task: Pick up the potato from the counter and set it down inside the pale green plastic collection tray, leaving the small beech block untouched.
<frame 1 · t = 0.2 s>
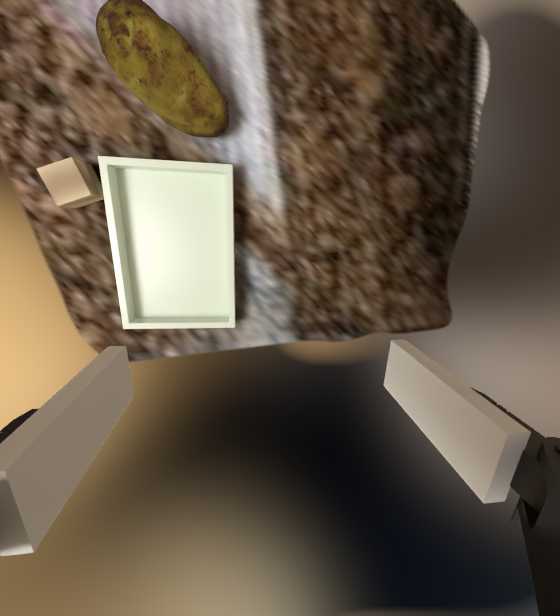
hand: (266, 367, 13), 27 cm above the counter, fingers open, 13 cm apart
tray: (179, 249, 37), on the counter
potato: (177, 97, 32), on the counter
beech block: (84, 186, 34), on the counter
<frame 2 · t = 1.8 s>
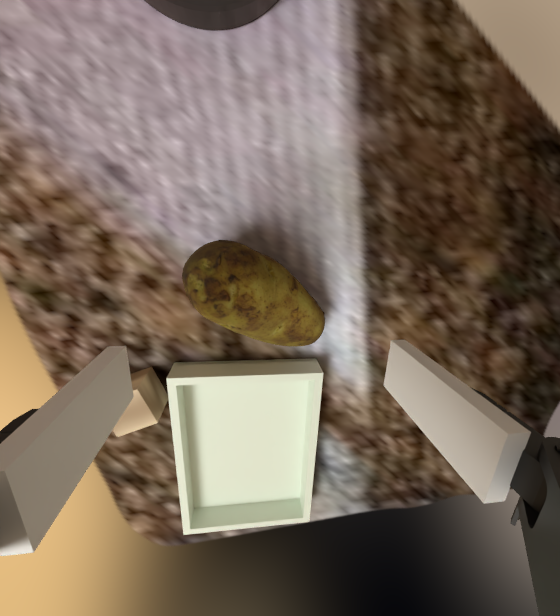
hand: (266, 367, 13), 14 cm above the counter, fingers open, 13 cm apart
tray: (247, 438, 32), on the counter
potato: (257, 291, 27), on the counter
beech block: (142, 387, 28), on the counter
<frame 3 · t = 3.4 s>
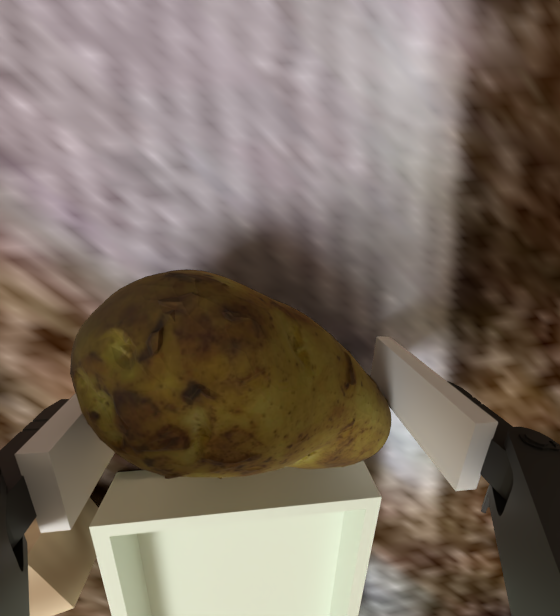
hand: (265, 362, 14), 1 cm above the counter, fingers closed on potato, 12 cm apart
tray: (246, 572, 20), on the counter
potato: (260, 350, 15), on the counter, touching gripper
beech block: (63, 512, 16), on the counter
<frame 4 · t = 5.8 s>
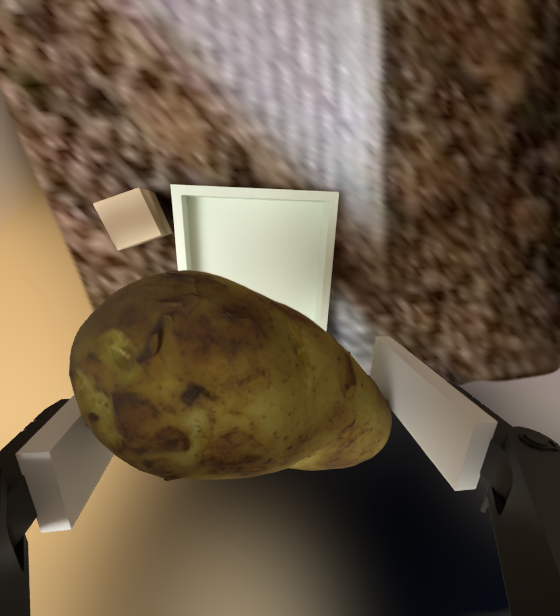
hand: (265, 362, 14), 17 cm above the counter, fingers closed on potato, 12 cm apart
tray: (256, 293, 30), on the counter
potato: (260, 351, 15), point 16 cm above the counter, touching gripper
beech block: (144, 219, 26), on the counter
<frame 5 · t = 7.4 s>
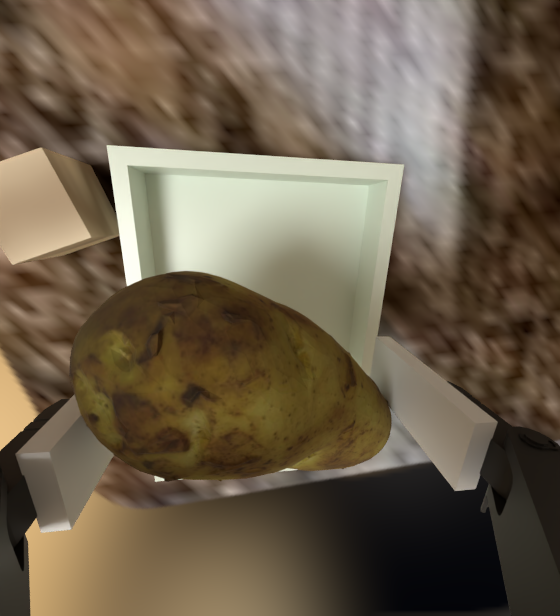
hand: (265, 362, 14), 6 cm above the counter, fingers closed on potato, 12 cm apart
tray: (260, 326, 20), on the counter
potato: (260, 351, 15), point 5 cm above the counter, touching gripper
beech block: (77, 211, 16), on the counter
when the fingers open (4 cm above the counter, at t = 8.4 s): potato drops 2 cm, point 1 cm above the counter.
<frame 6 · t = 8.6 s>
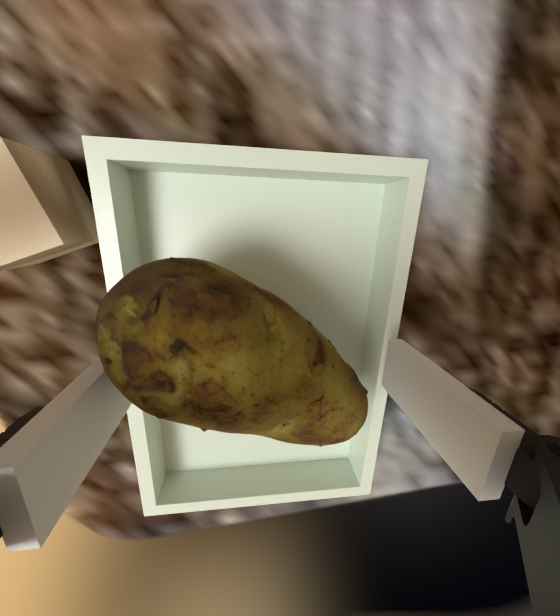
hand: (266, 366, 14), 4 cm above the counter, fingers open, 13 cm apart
tray: (262, 341, 18), on the counter
potato: (258, 337, 17), point 1 cm above the counter, touching gripper
beech block: (54, 214, 14), on the counter
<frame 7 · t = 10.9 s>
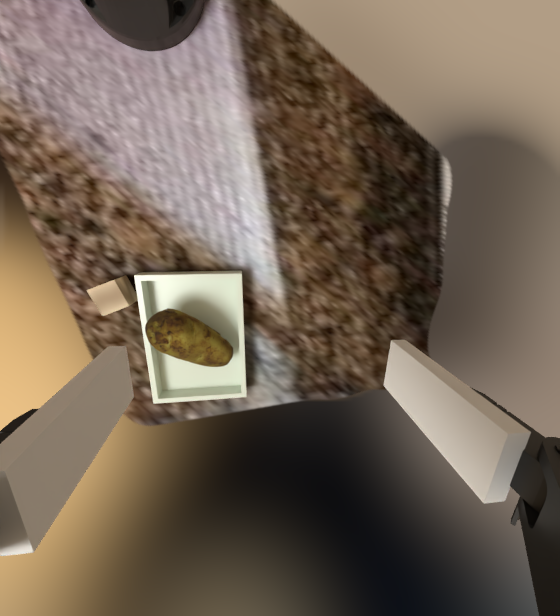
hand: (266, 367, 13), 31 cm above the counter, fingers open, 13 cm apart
tray: (198, 334, 44), on the counter
potato: (196, 332, 44), resting on tray
beech block: (120, 291, 41), on the counter
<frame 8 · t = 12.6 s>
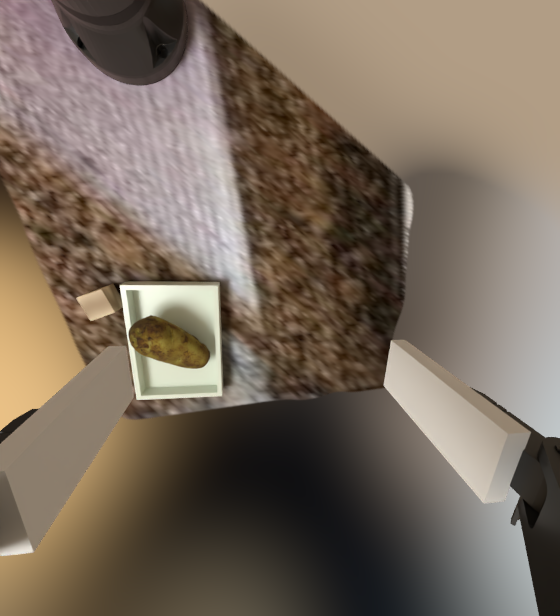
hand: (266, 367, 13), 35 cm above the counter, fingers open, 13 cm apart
tray: (179, 338, 49), on the counter
potato: (177, 336, 48), resting on tray
beech block: (108, 298, 45), on the counter
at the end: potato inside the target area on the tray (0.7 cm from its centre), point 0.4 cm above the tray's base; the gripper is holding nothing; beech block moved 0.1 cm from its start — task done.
